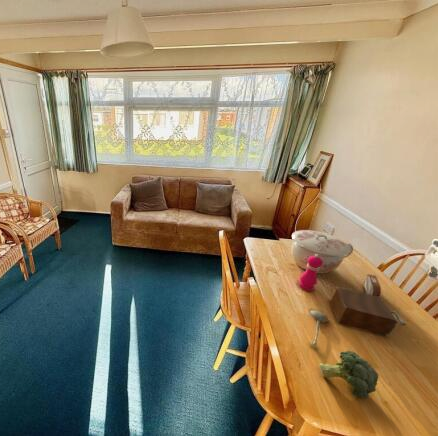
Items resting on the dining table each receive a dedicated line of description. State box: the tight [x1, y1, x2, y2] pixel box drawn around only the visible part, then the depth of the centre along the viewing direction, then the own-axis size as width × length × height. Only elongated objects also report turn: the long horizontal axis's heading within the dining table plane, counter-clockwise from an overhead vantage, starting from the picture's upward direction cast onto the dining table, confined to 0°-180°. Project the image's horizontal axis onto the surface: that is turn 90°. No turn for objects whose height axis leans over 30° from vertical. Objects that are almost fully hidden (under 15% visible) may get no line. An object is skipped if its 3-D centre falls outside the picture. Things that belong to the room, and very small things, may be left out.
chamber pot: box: [290, 229, 354, 274], centre depth 130 cm, size 28×28×21 cm
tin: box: [363, 274, 382, 297], centre depth 112 cm, size 15×3×8 cm, turn 148°
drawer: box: [382, 299, 407, 335], centre depth 97 cm, size 19×12×7 cm, turn 66°
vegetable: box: [318, 350, 379, 399], centre depth 75 cm, size 12×13×15 cm
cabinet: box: [330, 286, 395, 337], centre depth 99 cm, size 16×14×9 cm
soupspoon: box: [310, 309, 329, 349], centre depth 95 cm, size 22×3×7 cm
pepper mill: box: [298, 254, 323, 291], centre depth 115 cm, size 7×7×20 cm
